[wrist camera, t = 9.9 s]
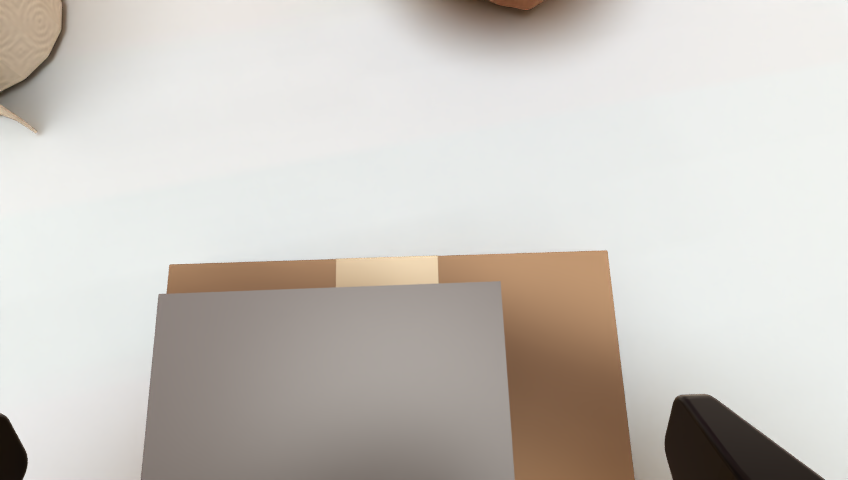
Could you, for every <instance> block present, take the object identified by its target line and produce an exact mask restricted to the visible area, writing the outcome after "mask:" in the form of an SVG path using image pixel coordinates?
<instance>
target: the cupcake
mask: <svg viewBox="0 0 848 480" xmlns="http://www.w3.org/2000/svg"><path fill="white" fill-rule="evenodd" d="M488 1H490V2H493V3H495V4H497V5H500V6H507V7H513V8H518V9H522V10H529V9H532V8H533V7H535V6H537V5H538V4H540V3H542V2H543V1H544V0H488Z"/></svg>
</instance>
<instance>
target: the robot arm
mask: <svg viewBox="0 0 848 480" xmlns="http://www.w3.org/2000/svg"><path fill="white" fill-rule="evenodd" d="M665 452H666V457H667V461H668V464H669V468H670V471H671V474H672V478H673V480H825V479H824V478H822V477H821V476H819V475H818V474H817V473H815V472H814V471H813V470H811V469H810V468H809V467H807V466H806V465H805V464H803V463H802V462H801V461H799V460H798V459H796V458H795V457H794V456H792V455H791V454H790V453H788V452H787V451H786V450H784V449H783V448H782V447H780V446H779V445H778V444H776V443H775V442H774V441H772V440H771V439H769V438H768V437H767V436H765V435H764V434H763V433H761V432H760V431H759V430H757V429H756V428H755V427H753V426H752V425H751V424H749V423H748V422H747V421H745V420H744V419H742V418H741V417H740V416H738V415H737V414H736V413H734V412H733V411H732V410H730V409H729V408H728V407H726V406H725V405H724V404H722V403H721V402H720V401H718V400H717V399H715V398H714V397H712V396H710V395H707V394H688V395H679V396H677V397H676V399H675V400H674V402H673V406H672V410H671V414H670V419H669V423H668V427H667V431H666V436H665ZM27 464H28V458H27V453H26V451H25V449H24V447H23V445H22V443H21V441H20V439H19V438H18V436H17V434H16V432H15V430H14V428H13V426H12V424H11V423H10V421H9V419H8V418H7V417H6V416H5V415H3V414H1V413H0V480H23V477H24V475H25V473H26V469H27Z"/></svg>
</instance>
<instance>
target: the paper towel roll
mask: <svg viewBox="0 0 848 480" xmlns="http://www.w3.org/2000/svg"><path fill="white" fill-rule="evenodd" d="M61 22H62V2H61V0H0V91H2V90H4V89H6V88H8V87H10V86H12V85H14V84H16V83H18V82H20V81H22V80H24V79H26V78H27V77H28V76H29V75H30V74H31V73H32V72H33V71H34V70H35V69H36V68H37V67H38V66H39V65H40V64H41V63H42V62H43V61H44V60H45V59H46V58H47V57H48V56H49V54H50V52H51V50H52V48H53V46H54V44H55V42H56V40H57V37H58V35H59V33H60V31H61ZM0 114H1V115H3V116H6V117H9V118H11V119H14V120H16V121H18V122H19V123H21V124H22V125H24V126H25V127H27V128H28V129H30V130H31V131H33V132H34V133H36V132H37V131H36V130H35V129H33V128H32V127H31V126H30V125H29V124H28V123H26V122H25V121H24V120H22V119H21V118H19V117H18V116H16V115H15V114H13V113H12V112H11V111H9V110H8V109H6V108H5V107H3V106H2V105H0Z"/></svg>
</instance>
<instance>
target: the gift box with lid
mask: <svg viewBox="0 0 848 480" xmlns="http://www.w3.org/2000/svg"><path fill="white" fill-rule="evenodd" d="M141 480H515V476H514V462H513V448H512V434H511V420H510V406H509V392H508V378H507V364H506V350H505V336H504V322H503V308H502V294H501V281H492V282H466V283H439V284H413V285H387V286H360V287H334V288H307V289H281V290H254V291H228V292H201V293H175V294H159V296H158V306H157V317H156V327H155V337H154V348H153V358H152V369H151V379H150V390H149V400H148V410H147V421H146V431H145V442H144V452H143V462H142V473H141Z"/></svg>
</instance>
